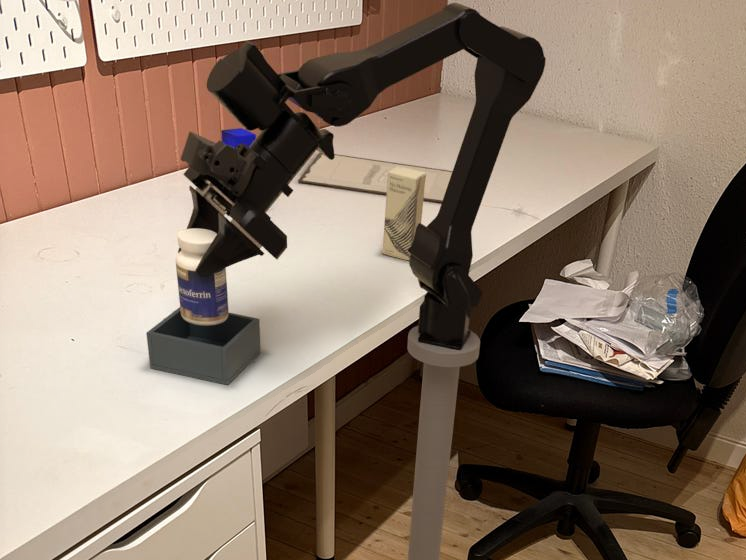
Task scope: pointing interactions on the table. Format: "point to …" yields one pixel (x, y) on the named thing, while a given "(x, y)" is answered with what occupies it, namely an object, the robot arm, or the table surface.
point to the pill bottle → (199, 281)
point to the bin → (204, 347)
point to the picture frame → (370, 175)
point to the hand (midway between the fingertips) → (189, 265)
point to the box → (402, 210)
